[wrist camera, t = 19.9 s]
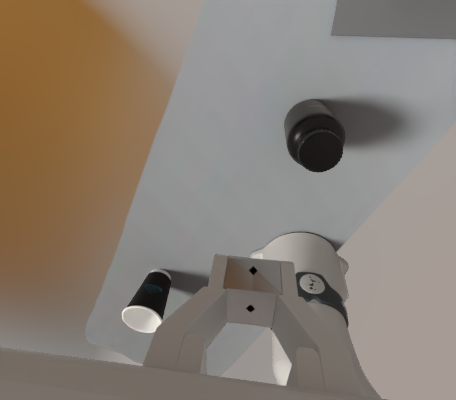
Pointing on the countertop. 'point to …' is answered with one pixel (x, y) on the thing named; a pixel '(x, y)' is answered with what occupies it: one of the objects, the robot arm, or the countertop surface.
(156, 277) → the dixie cup
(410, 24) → the mat
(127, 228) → the countertop surface
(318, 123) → the supplement bottle
